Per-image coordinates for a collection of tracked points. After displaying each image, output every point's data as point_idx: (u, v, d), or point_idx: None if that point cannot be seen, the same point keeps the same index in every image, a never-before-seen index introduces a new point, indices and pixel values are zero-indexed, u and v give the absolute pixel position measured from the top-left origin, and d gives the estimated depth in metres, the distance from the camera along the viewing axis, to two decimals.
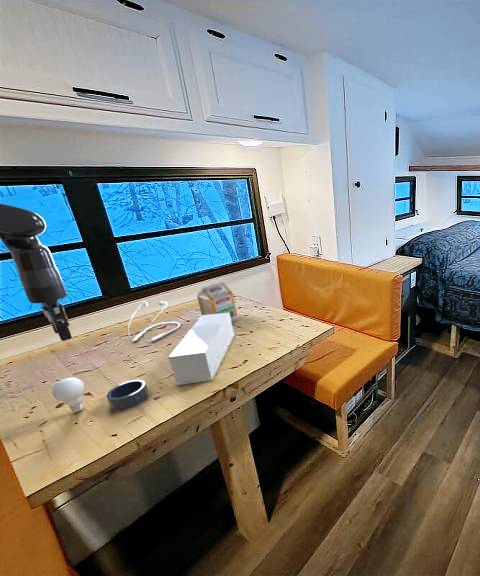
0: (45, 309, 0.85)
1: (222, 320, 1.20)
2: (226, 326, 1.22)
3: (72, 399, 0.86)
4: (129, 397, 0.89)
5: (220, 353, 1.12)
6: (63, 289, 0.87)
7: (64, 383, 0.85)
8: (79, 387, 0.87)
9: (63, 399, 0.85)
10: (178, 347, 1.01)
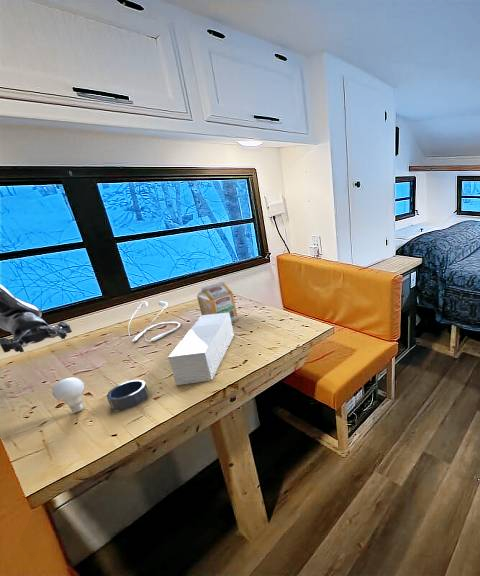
0: None
1: (222, 320, 1.20)
2: (226, 326, 1.22)
3: (72, 399, 0.86)
4: (129, 397, 0.89)
5: (220, 353, 1.12)
6: None
7: (64, 383, 0.85)
8: (79, 387, 0.87)
9: (63, 399, 0.85)
10: (178, 347, 1.01)
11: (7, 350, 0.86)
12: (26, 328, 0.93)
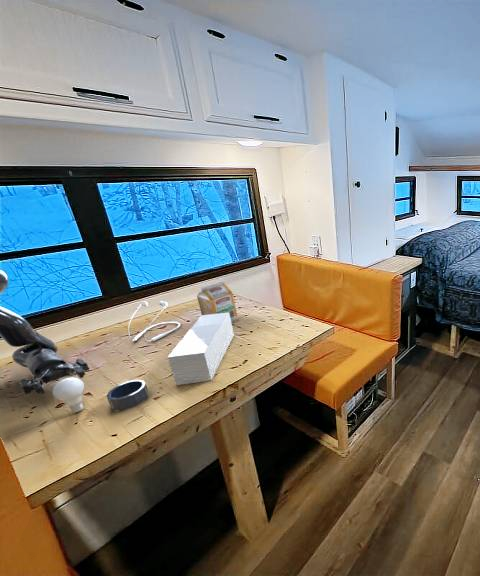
0: None
1: (222, 320, 1.20)
2: (226, 326, 1.22)
3: (72, 399, 0.86)
4: (129, 397, 0.89)
5: (219, 353, 1.12)
6: None
7: (64, 383, 0.85)
8: (79, 387, 0.87)
9: (63, 399, 0.85)
10: (177, 347, 1.01)
11: (28, 391, 0.89)
12: (45, 367, 0.96)
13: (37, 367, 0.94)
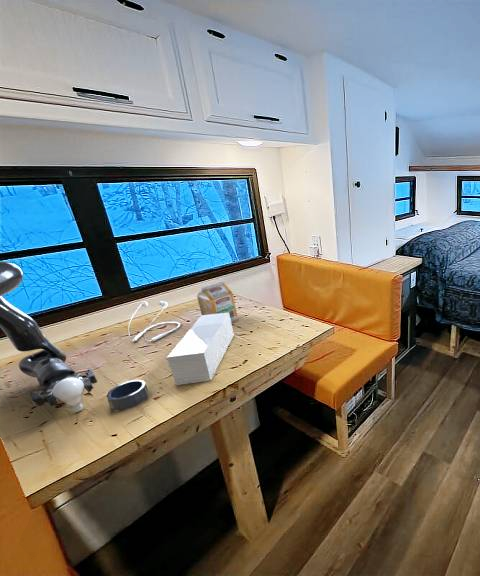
0: None
1: (222, 320, 1.20)
2: (225, 326, 1.22)
3: (72, 399, 0.86)
4: (129, 397, 0.89)
5: (219, 353, 1.12)
6: None
7: (63, 383, 0.85)
8: (80, 387, 0.87)
9: (63, 399, 0.85)
10: (177, 347, 1.01)
11: (42, 403, 0.84)
12: (54, 378, 0.91)
13: (46, 378, 0.89)
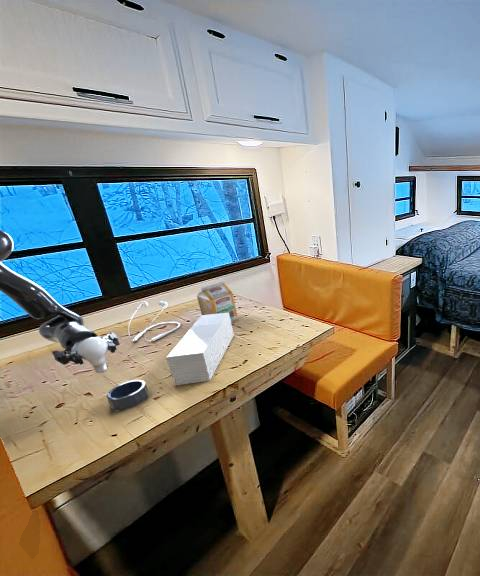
0: None
1: (221, 321, 1.20)
2: (225, 326, 1.22)
3: (96, 358, 0.85)
4: (129, 397, 0.89)
5: (219, 353, 1.12)
6: None
7: (88, 342, 0.84)
8: (104, 347, 0.86)
9: (88, 358, 0.84)
10: (176, 347, 1.01)
11: (66, 362, 0.83)
12: (76, 339, 0.90)
13: (68, 339, 0.88)
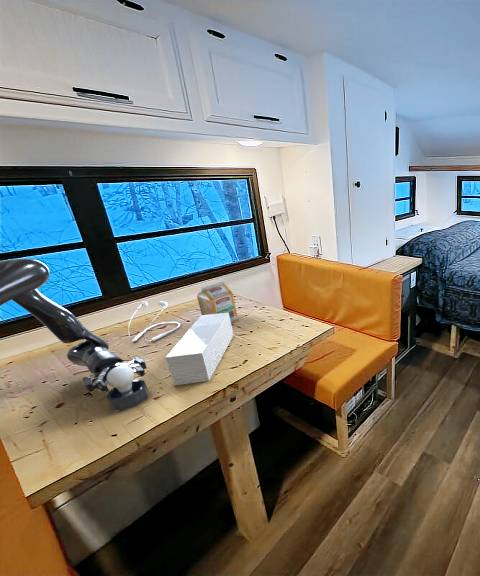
0: None
1: (221, 321, 1.20)
2: (225, 326, 1.22)
3: (124, 386, 0.90)
4: (129, 397, 0.89)
5: (218, 353, 1.12)
6: None
7: (117, 371, 0.88)
8: (131, 375, 0.91)
9: (117, 386, 0.88)
10: (176, 347, 1.01)
11: (92, 390, 0.87)
12: (104, 365, 0.94)
13: (97, 365, 0.93)
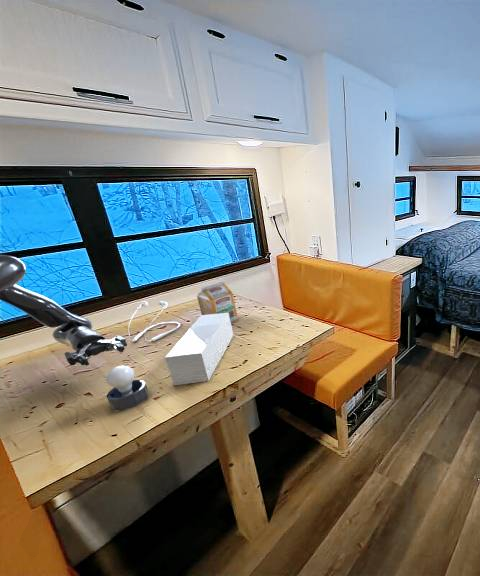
0: None
1: (221, 321, 1.20)
2: (225, 326, 1.22)
3: (124, 386, 0.90)
4: (129, 397, 0.89)
5: (218, 353, 1.12)
6: None
7: (117, 371, 0.88)
8: (131, 375, 0.91)
9: (117, 386, 0.88)
10: (175, 347, 1.01)
11: (73, 363, 0.92)
12: (86, 342, 0.99)
13: (79, 341, 0.98)
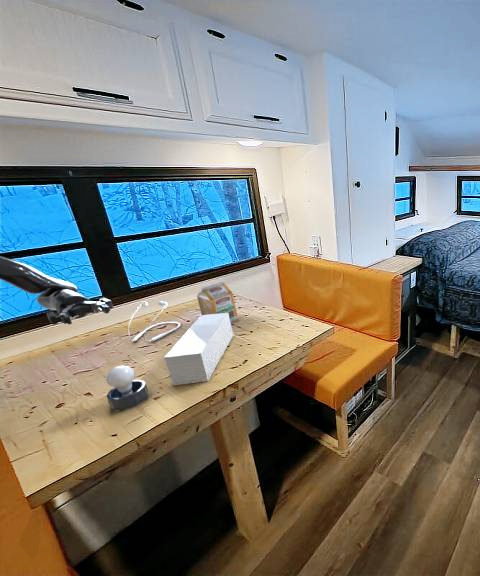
0: None
1: (220, 321, 1.20)
2: (224, 326, 1.22)
3: (124, 386, 0.90)
4: (129, 397, 0.89)
5: (217, 354, 1.12)
6: None
7: (117, 371, 0.88)
8: (131, 375, 0.91)
9: (117, 386, 0.88)
10: (175, 347, 1.01)
11: (55, 322, 0.88)
12: (70, 303, 0.95)
13: (62, 302, 0.94)
